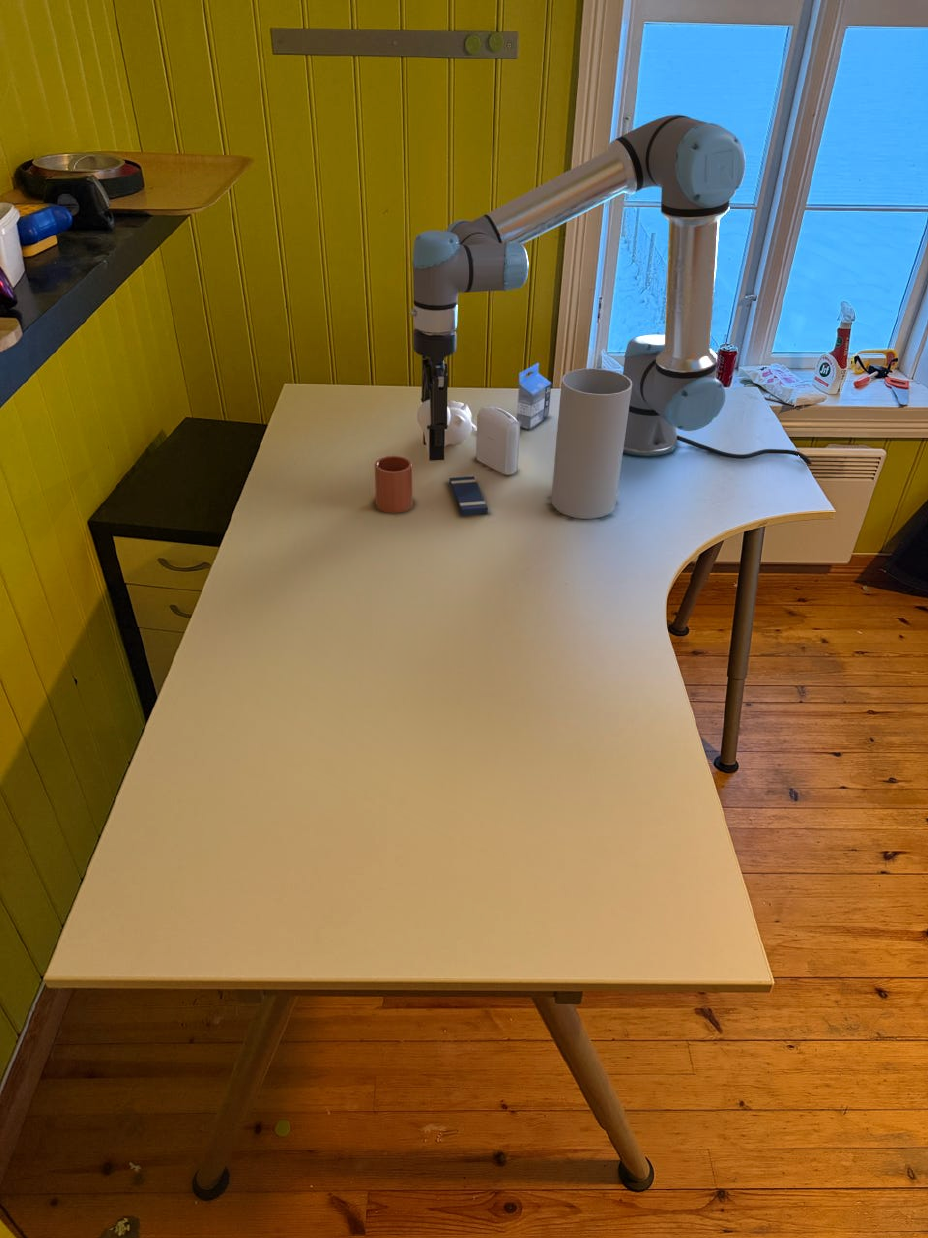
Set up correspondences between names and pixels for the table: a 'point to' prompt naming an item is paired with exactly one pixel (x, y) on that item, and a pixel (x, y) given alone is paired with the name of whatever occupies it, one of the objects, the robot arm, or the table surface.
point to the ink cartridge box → (533, 398)
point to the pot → (394, 484)
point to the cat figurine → (458, 423)
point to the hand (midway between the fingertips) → (433, 451)
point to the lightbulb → (427, 420)
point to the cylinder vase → (590, 442)
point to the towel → (468, 496)
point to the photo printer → (497, 439)
